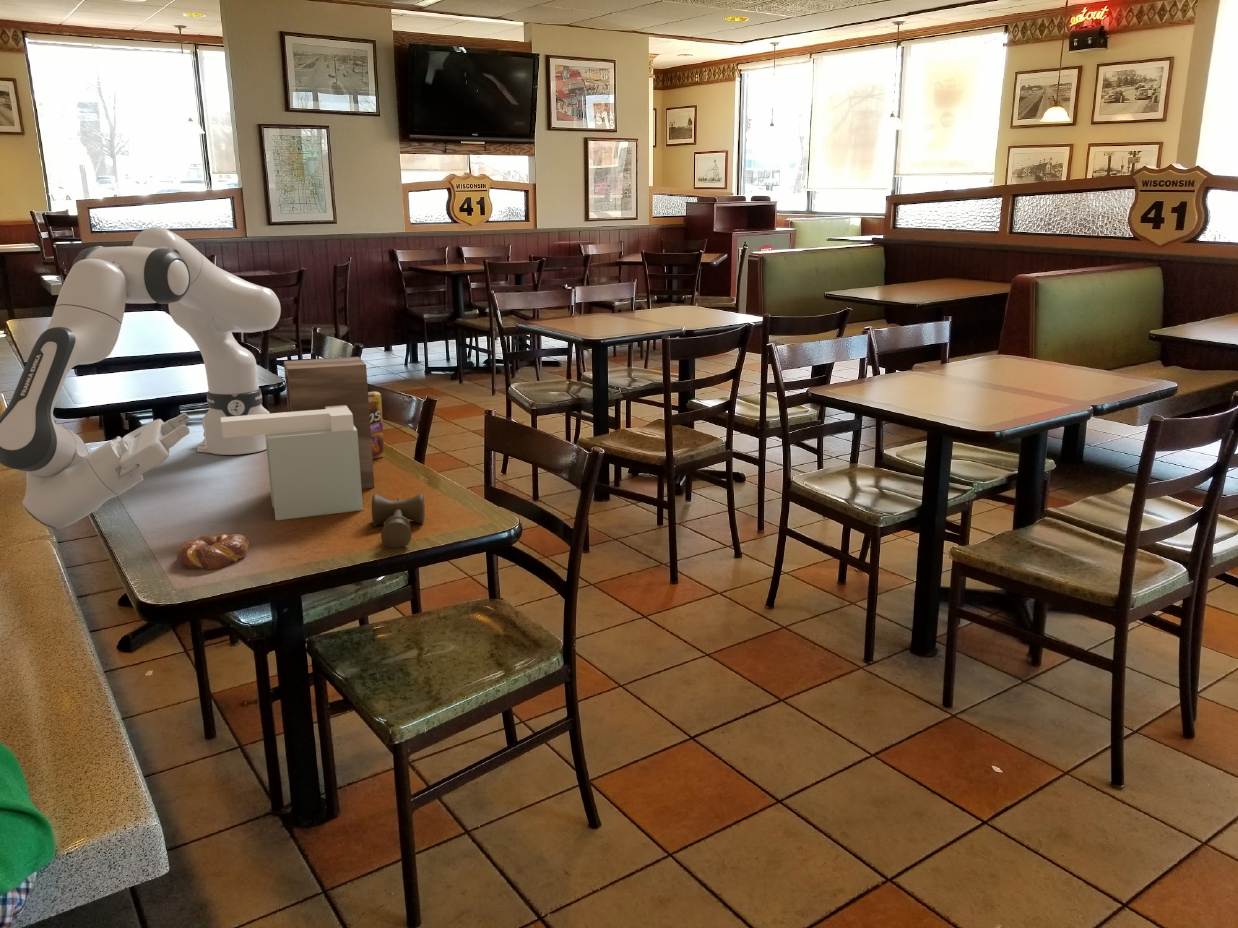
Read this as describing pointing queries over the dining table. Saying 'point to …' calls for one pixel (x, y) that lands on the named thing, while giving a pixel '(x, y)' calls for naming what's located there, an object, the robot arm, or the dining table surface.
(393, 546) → the kendama
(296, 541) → the dining table surface
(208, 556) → the pretzel
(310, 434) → the pale green rectangular block
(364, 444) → the tall stand
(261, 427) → the T-piece
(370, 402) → the candy box
